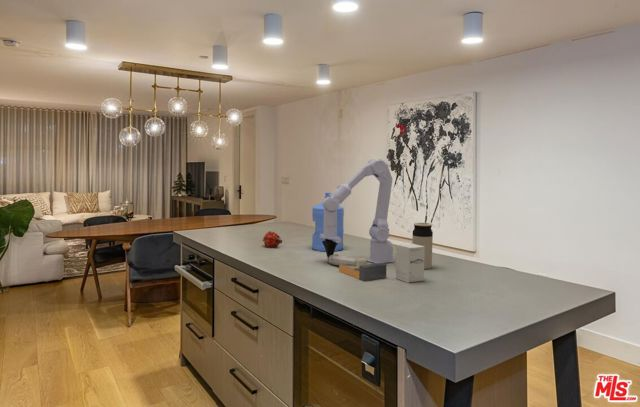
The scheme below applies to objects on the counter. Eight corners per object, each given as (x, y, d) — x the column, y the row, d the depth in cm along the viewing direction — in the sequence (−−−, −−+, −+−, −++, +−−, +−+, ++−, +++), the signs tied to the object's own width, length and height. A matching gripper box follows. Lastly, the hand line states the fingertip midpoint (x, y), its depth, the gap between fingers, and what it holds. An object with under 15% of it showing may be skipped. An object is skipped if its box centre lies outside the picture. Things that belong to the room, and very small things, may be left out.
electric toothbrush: (336, 253, 185) (371, 255, 163) (337, 269, 185) (372, 273, 163) (325, 254, 182) (359, 257, 161) (326, 270, 182) (361, 275, 160)
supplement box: (408, 283, 153) (409, 247, 152) (395, 278, 159) (396, 244, 158) (424, 280, 156) (425, 246, 155) (411, 276, 163) (412, 243, 162)
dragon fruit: (267, 247, 228) (278, 254, 218) (256, 239, 223) (267, 246, 213) (276, 234, 229) (288, 240, 220) (265, 226, 224) (277, 232, 215)
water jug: (348, 248, 220) (349, 192, 217) (333, 253, 206) (333, 194, 204) (322, 245, 228) (323, 191, 226) (305, 249, 215) (306, 193, 213)
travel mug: (435, 267, 178) (436, 223, 177) (425, 270, 172) (426, 225, 171) (418, 264, 184) (419, 222, 182) (407, 267, 178) (409, 223, 176)
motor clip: (359, 268, 175) (359, 256, 174) (386, 277, 160) (386, 264, 160) (338, 271, 170) (338, 258, 169) (364, 281, 155) (364, 267, 155)
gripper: (313, 224, 188) (313, 255, 189) (331, 228, 175) (330, 261, 176) (327, 223, 191) (327, 253, 192) (345, 227, 179) (345, 259, 180)
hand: (330, 257), depth 184 cm, fingers closed
